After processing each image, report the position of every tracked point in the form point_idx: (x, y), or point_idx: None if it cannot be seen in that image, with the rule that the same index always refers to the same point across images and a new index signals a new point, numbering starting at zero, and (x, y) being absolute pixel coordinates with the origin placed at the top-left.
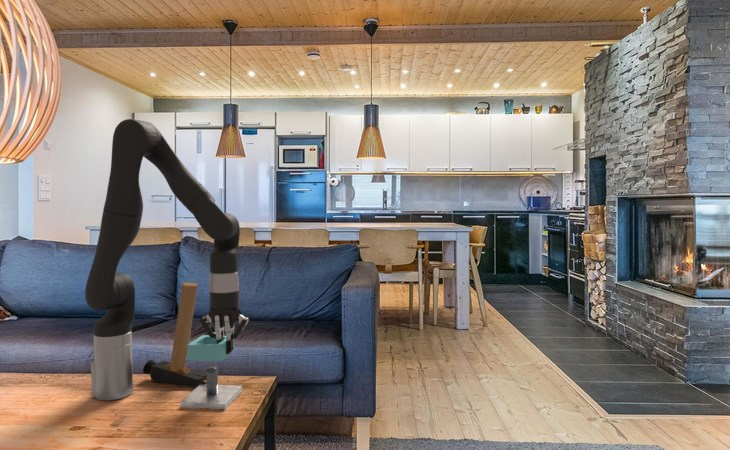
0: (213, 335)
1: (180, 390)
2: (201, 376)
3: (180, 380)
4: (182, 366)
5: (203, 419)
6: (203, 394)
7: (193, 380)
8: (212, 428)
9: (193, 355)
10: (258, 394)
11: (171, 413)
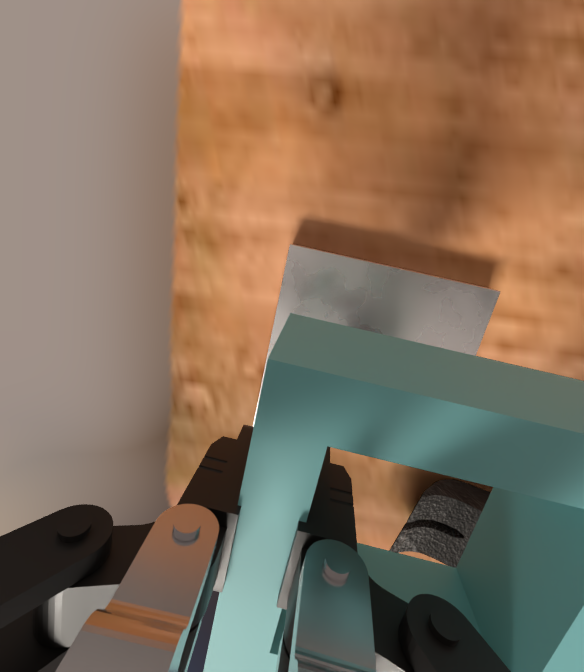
0: (411, 624)
1: None
2: (438, 528)
3: None
4: None
5: (369, 153)
6: None
7: (468, 500)
8: (315, 52)
9: (570, 388)
10: (188, 376)
11: (521, 230)
